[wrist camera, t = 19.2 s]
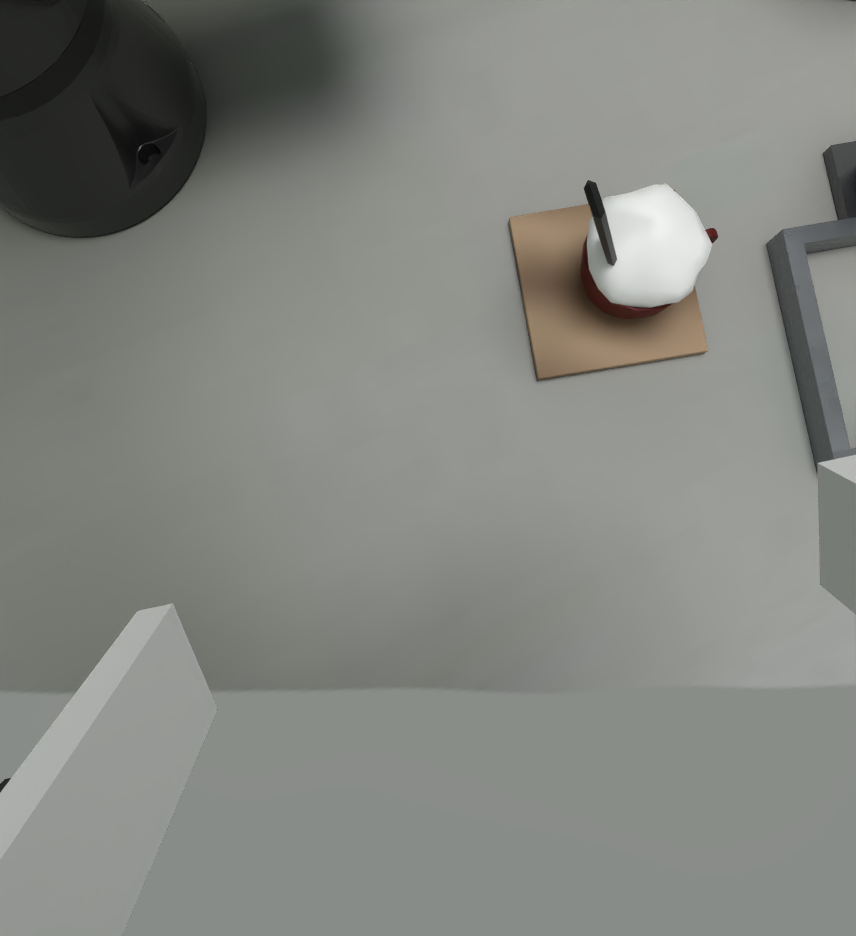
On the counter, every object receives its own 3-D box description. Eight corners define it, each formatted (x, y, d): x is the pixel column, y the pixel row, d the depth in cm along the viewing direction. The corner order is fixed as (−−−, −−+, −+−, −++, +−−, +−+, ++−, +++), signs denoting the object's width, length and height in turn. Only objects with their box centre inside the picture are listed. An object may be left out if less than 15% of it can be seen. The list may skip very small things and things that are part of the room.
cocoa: (693, 239, 38) (821, 97, 26) (690, 339, 37) (821, 241, 25) (536, 225, 38) (591, 77, 26) (530, 326, 37) (584, 220, 25)
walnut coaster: (508, 222, 38) (509, 217, 38) (671, 194, 38) (674, 189, 38) (537, 380, 37) (538, 378, 37) (704, 353, 37) (708, 350, 37)
